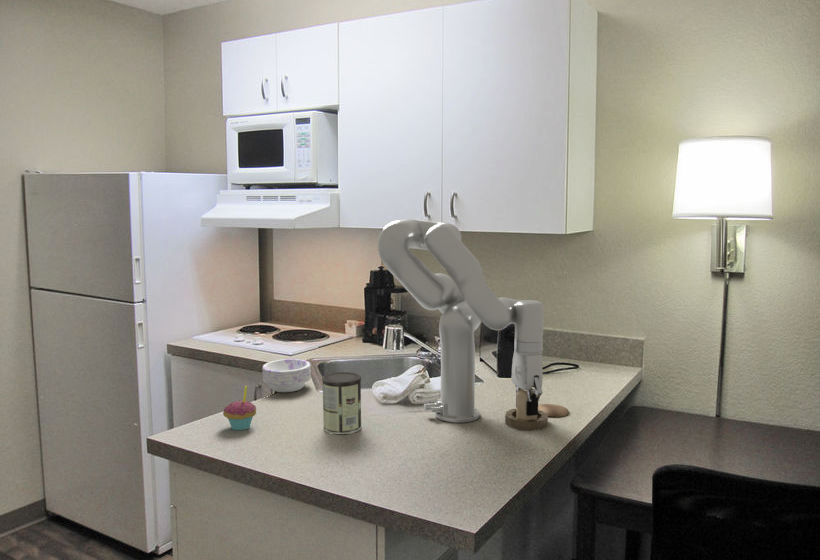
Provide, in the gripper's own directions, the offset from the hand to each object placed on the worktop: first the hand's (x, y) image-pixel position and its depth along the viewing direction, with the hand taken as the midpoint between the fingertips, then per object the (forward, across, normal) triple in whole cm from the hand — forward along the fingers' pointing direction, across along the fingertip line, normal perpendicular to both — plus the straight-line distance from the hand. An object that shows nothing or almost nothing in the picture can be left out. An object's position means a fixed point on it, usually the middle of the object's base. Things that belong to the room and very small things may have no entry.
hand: (526, 410), depth 184 cm
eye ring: (+3, 0, 0) cm, 3 cm away
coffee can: (+4, -10, -49) cm, 50 cm away
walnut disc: (+3, -7, +11) cm, 13 cm away
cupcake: (+4, -18, -75) cm, 77 cm away
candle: (+4, 0, 0) cm, 4 cm away
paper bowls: (+4, -51, -59) cm, 78 cm away
